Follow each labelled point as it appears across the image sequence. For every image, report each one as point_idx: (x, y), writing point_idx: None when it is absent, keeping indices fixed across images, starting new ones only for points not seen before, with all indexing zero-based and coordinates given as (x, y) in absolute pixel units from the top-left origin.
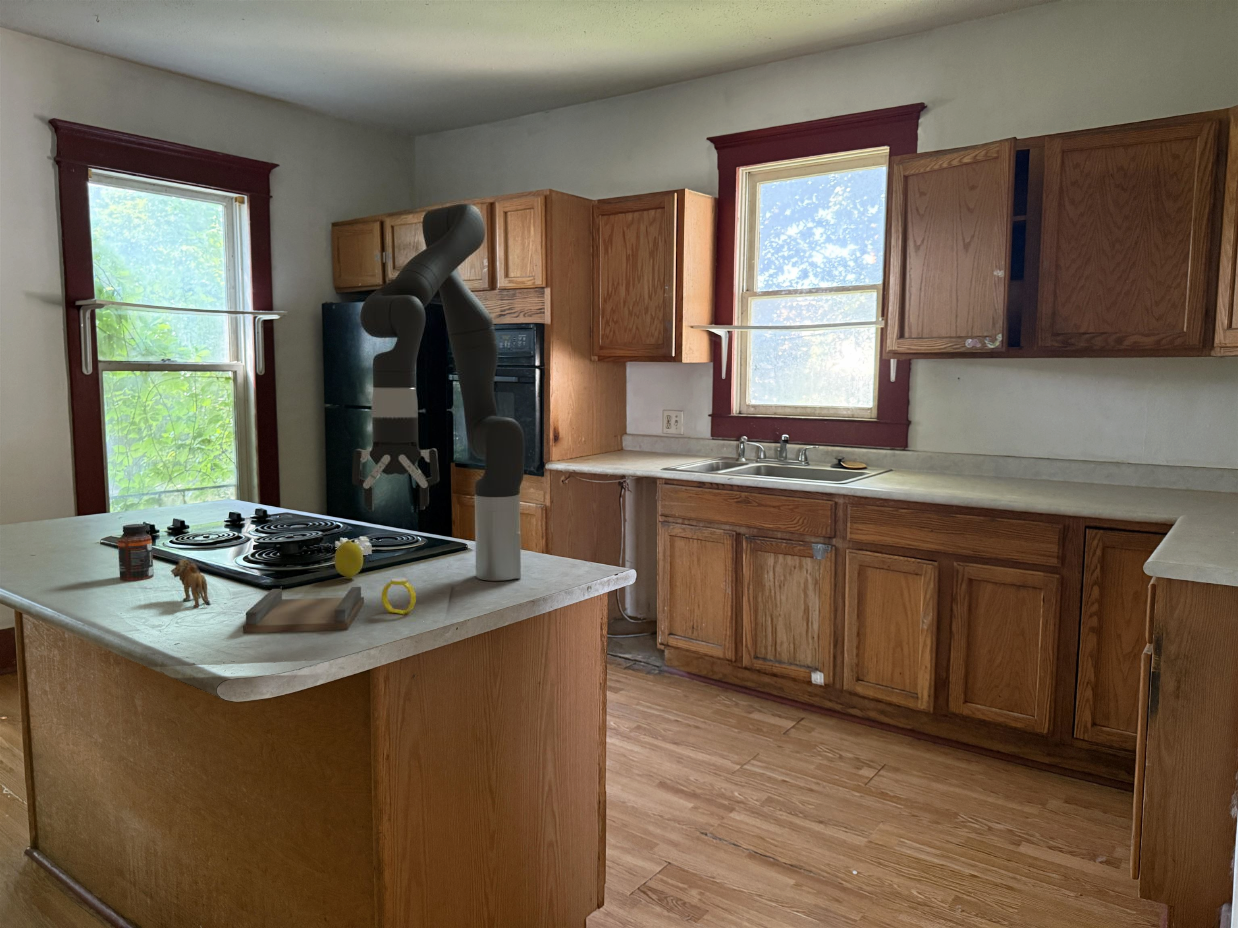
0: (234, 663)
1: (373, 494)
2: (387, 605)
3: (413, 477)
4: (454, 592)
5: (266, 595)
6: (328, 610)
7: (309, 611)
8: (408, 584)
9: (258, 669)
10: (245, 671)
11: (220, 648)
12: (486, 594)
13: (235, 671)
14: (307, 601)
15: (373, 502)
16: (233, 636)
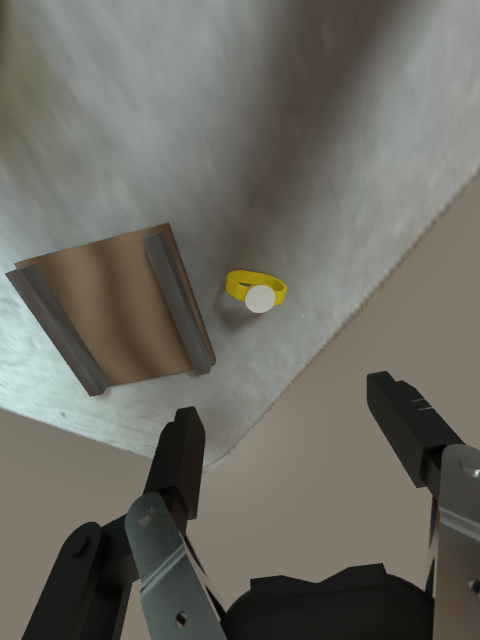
0: None
1: (187, 464)
2: (234, 279)
3: (424, 574)
4: (325, 94)
5: (37, 316)
6: (157, 316)
7: (133, 324)
8: (277, 297)
9: None
10: None
11: (119, 421)
12: (400, 109)
13: None
14: (86, 269)
15: (194, 437)
16: None
